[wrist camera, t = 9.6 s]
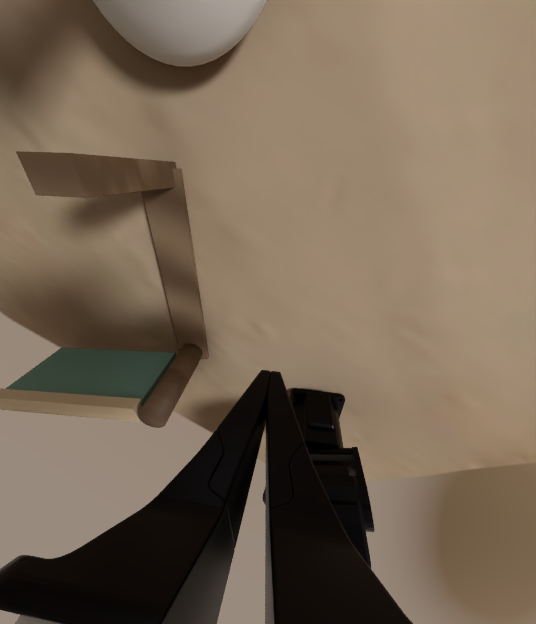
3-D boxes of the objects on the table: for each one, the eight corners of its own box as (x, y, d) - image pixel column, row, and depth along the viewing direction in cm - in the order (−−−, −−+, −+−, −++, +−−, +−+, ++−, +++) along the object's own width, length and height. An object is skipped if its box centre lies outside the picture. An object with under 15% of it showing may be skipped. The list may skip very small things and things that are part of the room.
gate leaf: (174, 350, 25) (132, 408, 19) (178, 362, 26) (140, 421, 20) (60, 345, 27) (-12, 397, 21) (68, 357, 28) (1, 409, 22)
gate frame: (209, 357, 27) (172, 429, 19) (183, 354, 27) (137, 424, 20) (180, 162, 17) (78, 153, 9) (139, 160, 17) (7, 151, 9)
